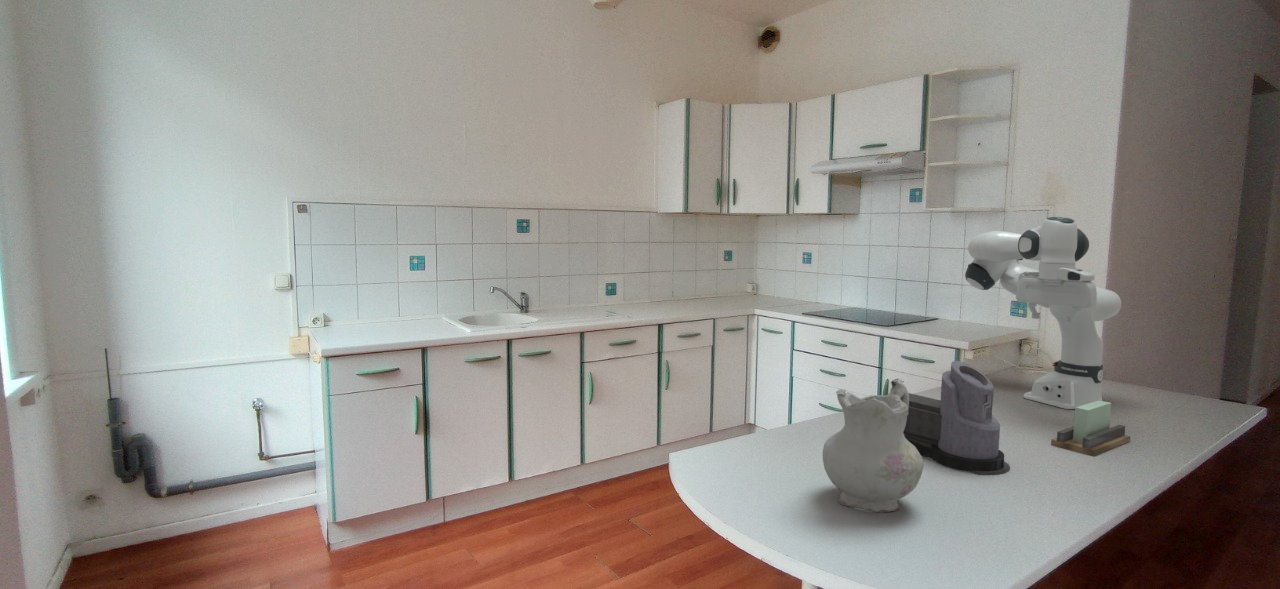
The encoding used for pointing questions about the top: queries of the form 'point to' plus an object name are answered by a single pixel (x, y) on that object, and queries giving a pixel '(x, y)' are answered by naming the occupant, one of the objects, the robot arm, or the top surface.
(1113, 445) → the bottom track
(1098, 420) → the door panel
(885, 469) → the ceramic pitcher
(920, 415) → the juicer
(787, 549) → the top surface
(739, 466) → the top surface
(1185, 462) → the top surface
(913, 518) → the top surface
